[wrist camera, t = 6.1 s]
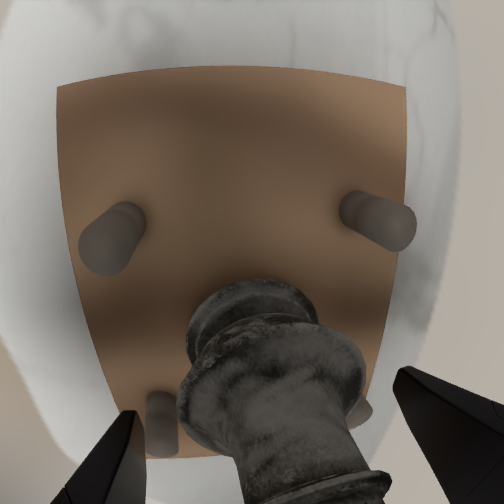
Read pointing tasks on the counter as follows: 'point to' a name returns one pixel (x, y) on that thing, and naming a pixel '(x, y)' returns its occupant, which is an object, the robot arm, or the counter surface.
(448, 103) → the counter surface
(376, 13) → the counter surface
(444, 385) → the robot arm
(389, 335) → the counter surface
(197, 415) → the dark grey turned piece
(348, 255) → the peg board
